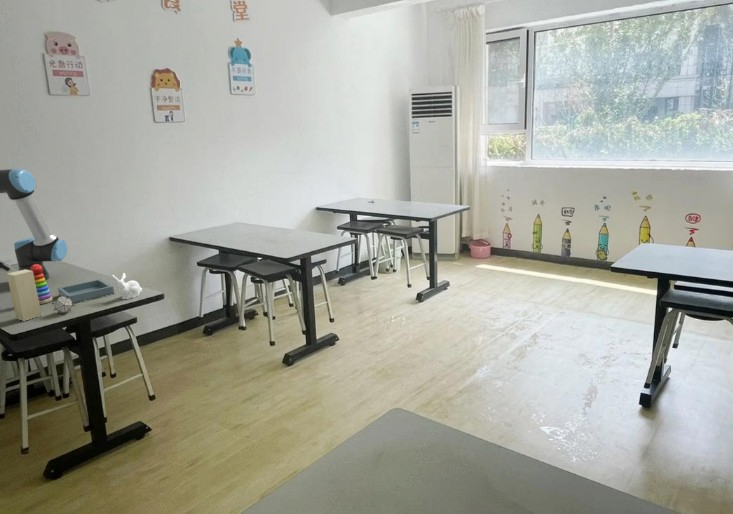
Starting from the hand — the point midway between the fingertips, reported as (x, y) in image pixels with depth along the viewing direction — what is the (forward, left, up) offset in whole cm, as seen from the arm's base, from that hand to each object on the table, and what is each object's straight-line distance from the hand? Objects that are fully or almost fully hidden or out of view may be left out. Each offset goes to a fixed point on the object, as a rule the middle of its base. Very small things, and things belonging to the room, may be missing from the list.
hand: (13, 270), depth 252 cm
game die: (+26, +12, -18) cm, 34 cm away
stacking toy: (0, +9, -18) cm, 20 cm away
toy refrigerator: (+20, -1, -18) cm, 27 cm away
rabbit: (+26, +40, -18) cm, 51 cm away
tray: (+5, +27, -18) cm, 33 cm away
